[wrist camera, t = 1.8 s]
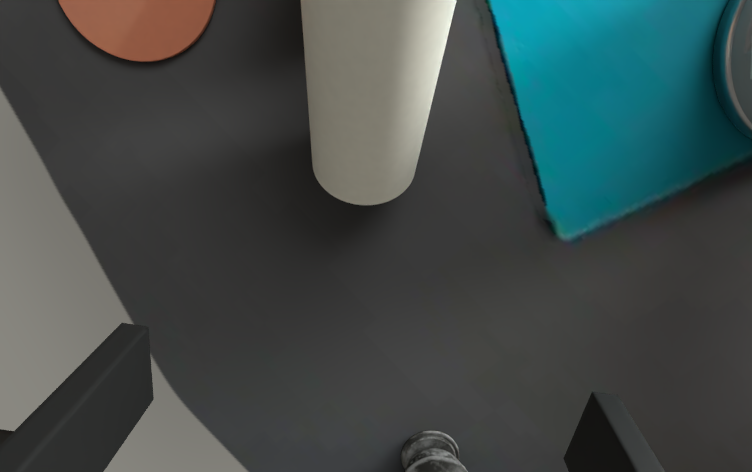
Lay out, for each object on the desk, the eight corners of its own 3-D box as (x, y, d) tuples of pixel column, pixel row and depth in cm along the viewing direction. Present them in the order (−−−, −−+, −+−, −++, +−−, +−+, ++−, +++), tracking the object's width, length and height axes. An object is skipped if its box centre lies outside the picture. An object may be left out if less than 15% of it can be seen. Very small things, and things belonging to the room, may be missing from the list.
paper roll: (408, 196, 35) (440, 257, 20) (314, 188, 34) (274, 244, 19) (432, -29, 31) (495, -170, 16) (326, -40, 30) (288, -194, 15)
